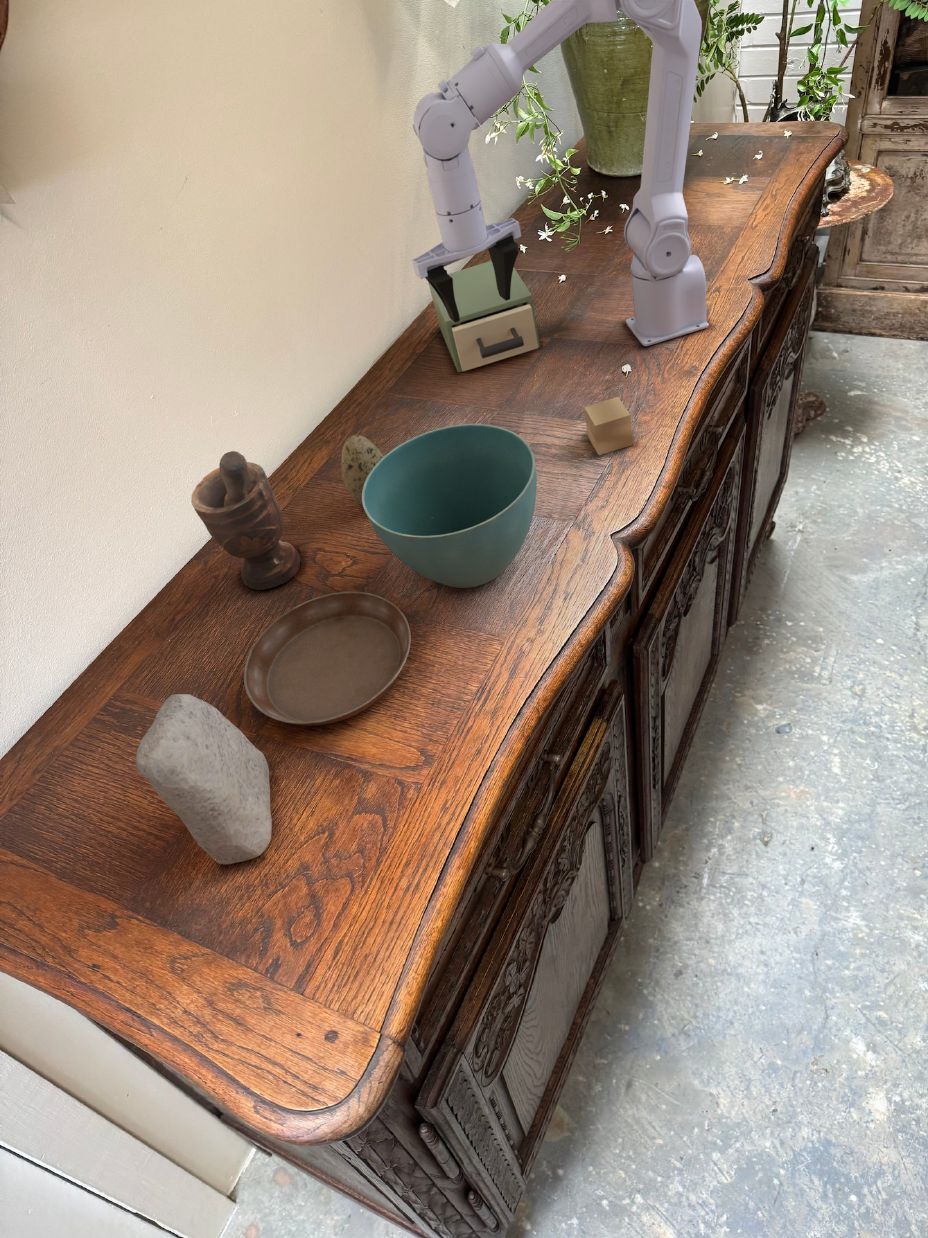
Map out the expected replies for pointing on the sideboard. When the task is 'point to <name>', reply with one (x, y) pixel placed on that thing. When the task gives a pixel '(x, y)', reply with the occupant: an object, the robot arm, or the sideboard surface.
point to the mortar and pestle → (246, 521)
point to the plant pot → (454, 502)
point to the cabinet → (478, 300)
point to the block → (608, 426)
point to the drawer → (495, 336)
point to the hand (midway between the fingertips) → (480, 308)
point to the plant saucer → (327, 658)
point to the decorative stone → (209, 778)
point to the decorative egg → (358, 464)
